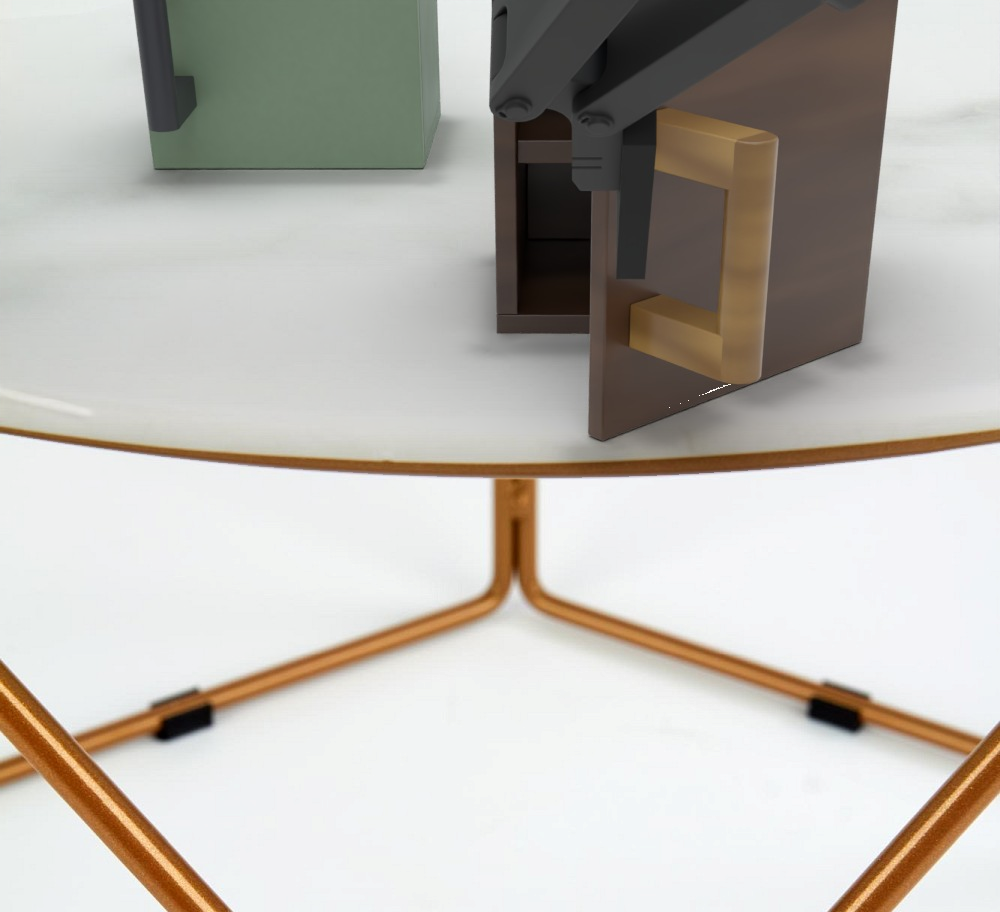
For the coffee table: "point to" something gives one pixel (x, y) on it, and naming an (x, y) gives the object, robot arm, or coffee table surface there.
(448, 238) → the coffee table surface
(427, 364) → the coffee table surface
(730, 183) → the near door
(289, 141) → the far door
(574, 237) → the near cabinet
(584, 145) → the robot arm
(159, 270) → the coffee table surface
